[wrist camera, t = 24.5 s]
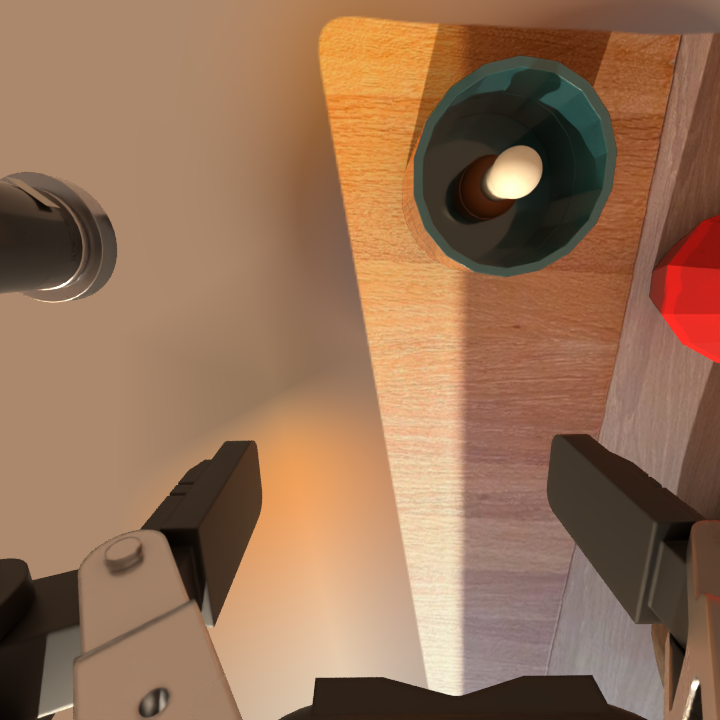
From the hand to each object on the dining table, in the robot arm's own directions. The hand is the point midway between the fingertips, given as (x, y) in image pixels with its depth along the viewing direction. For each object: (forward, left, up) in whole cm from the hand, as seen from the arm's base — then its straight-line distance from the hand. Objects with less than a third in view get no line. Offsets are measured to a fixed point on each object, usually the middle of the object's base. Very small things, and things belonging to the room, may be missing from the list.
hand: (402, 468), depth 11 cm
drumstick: (+10, +11, -30) cm, 33 cm away
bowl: (+10, +11, -30) cm, 34 cm away
